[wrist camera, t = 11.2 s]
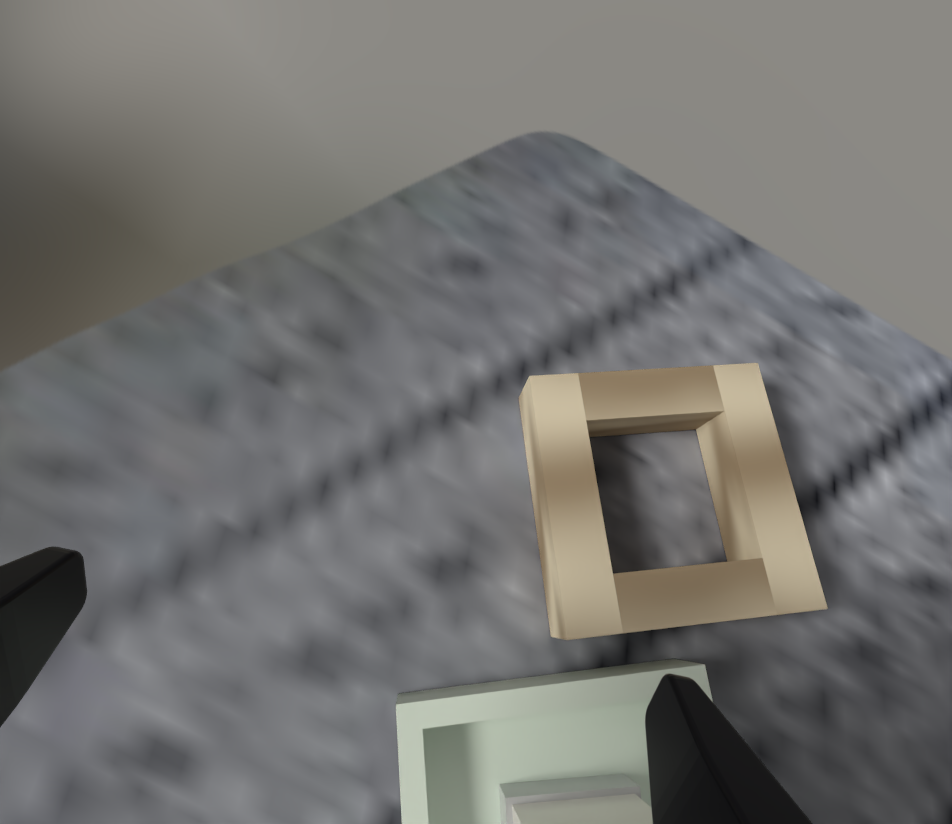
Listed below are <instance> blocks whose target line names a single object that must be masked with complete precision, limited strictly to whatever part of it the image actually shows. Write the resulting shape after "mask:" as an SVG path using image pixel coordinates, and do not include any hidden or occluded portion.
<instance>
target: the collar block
mask: <svg viewBox="0 0 952 824" xmlns="http://www.w3.org/2000/svg"><path fill="white" fill-rule="evenodd" d="M519 404H520V412H521V419H522V426H523V434H524V441H525V449H526V456H527V463H528V471H529V478H530V486H531V493H532V500H533V508H534V515H535V523H536V530H537V537H538V545H539V552H540V559H541V567H542V574H543V582H544V589H545V596H546V604H547V611H548V619H549V626H550V633H551V637H555V638H560V639H565V640H571V639H580V638H588V637H596V636H605V635H613V634H622V633H630V632H638V631H647V630H655V629H663V628H672V627H680V626H689V625H697V624H705V623H714V622H722V621H730V620H739V619H747V618H756V617H764V616H772V615H781V614H789V613H797V612H806V611H814V610H823V609H828V608H827V604H826V601H825V597H824V594H823V590H822V587H821V583H820V580H819V576H818V573H817V569H816V566H815V562H814V559H813V555H812V552H811V548H810V545H809V541H808V537H807V534H806V530H805V527H804V523H803V520H802V516H801V513H800V509H799V506H798V502H797V499H796V495H795V492H794V488H793V485H792V481H791V478H790V474H789V471H788V467H787V464H786V460H785V457H784V453H783V450H782V446H781V443H780V439H779V436H778V432H777V429H776V425H775V422H774V418H773V415H772V411H771V408H770V404H769V401H768V397H767V394H766V390H765V387H764V383H763V380H762V376H761V373H760V369H759V366H758V363H748V364H731V365H714V366H696V367H679V368H661V369H644V370H627V371H609V372H592V373H574V374H557V375H540V376H529V378H528V380H527V382H526V384H525V386H524V388H523V390H522V392H521V394H520V397H519ZM695 429H696V432H697V436H698V440H699V444H700V449H701V453H702V457H703V461H704V465H705V470H706V474H707V478H708V482H709V486H710V491H711V495H712V499H713V503H714V507H715V512H716V516H717V520H718V524H719V528H720V533H721V537H722V541H723V545H724V549H725V554H726V558H727V562H720V563H710V564H701V565H691V566H682V567H672V568H663V569H653V570H644V571H634V572H625V573H615V574H613V572H612V566H611V560H610V554H609V549H608V543H607V537H606V531H605V526H604V520H603V514H602V508H601V503H600V497H599V491H598V485H597V480H596V474H595V468H594V462H593V457H592V451H591V445H590V439H589V437H599V436H612V435H626V434H640V433H654V432H667V431H681V430H695Z"/></svg>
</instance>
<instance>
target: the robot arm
mask: <svg viewBox="0 0 952 824" xmlns="http://www.w3.org/2000/svg"><path fill="white" fill-rule="evenodd" d="M86 596H87V586H86V577H85V568H84V560H83V556H82V555H81V554H80V552H78V551H75V550H70V549H65V548H60V547H48V548H45V549H42V550H39V551H37V552H34V553H32V554H29V555H27V556H24V557H22V558H19V559H17V560H15V561H12V562H10V563H7V564H5V565H2V566H0V727H1V725H2V724H3V723H4V722H5V720H6V719H7V718H8V717H9V715H10V714H11V713H12V711H13V710H14V709H15V707H16V706H17V705H18V703H19V702H20V701H21V699H22V698H23V696H24V695H25V693H26V692H27V691H28V689H29V688H30V686H31V685H32V683H33V682H34V680H35V679H36V677H37V676H38V674H39V673H40V671H41V670H42V668H43V667H44V665H45V664H46V662H47V661H48V659H49V657H50V656H51V654H52V653H53V651H54V650H55V648H56V647H57V645H58V644H59V642H60V641H61V639H62V638H63V636H64V635H65V633H66V632H67V630H68V629H69V627H70V626H71V624H72V623H73V621H74V620H75V618H76V617H77V615H78V614H79V612H80V611H81V609H82V607H83V605H84V603H85V600H86ZM645 730H646V743H647V757H648V770H649V783H650V796H651V809H652V820H653V824H812V822H811V821H810V820H809V819H808V817H807V816H806V815H805V814H804V813H803V811H802V810H801V809H800V808H799V807H798V805H797V804H796V803H795V802H794V800H793V799H792V798H791V797H790V796H789V794H788V793H787V792H786V791H785V790H784V788H783V787H782V786H781V785H780V783H779V782H778V781H777V780H776V779H775V777H774V776H773V775H772V774H771V772H770V771H769V770H768V769H767V768H766V766H765V765H764V764H763V763H762V762H761V760H760V759H759V758H758V757H757V755H756V754H755V753H754V752H753V751H752V749H751V748H750V747H749V746H748V744H747V743H746V742H745V741H744V740H743V738H742V737H741V736H740V735H739V734H738V732H737V731H736V730H735V729H734V727H733V726H732V725H731V724H730V723H729V721H728V720H727V719H726V718H725V717H724V715H723V714H722V713H721V712H720V710H719V709H718V708H717V707H716V706H715V704H714V703H713V702H712V701H711V699H710V698H709V697H708V696H707V695H706V693H705V692H704V691H703V690H702V689H701V687H700V686H699V685H698V684H697V683H696V682H695V681H694V680H693V679H691V678H689V677H685V676H680V675H675V674H671V673H669V674H665V675H664V676H663V677H662V679H661V681H660V683H659V685H658V687H657V689H656V690H655V692H654V694H653V696H652V698H651V700H650V702H649V704H648V707H647V710H646V715H645Z"/></svg>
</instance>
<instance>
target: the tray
mask: <svg viewBox="0 0 952 824" xmlns="http://www.w3.org/2000/svg"><path fill="white" fill-rule="evenodd" d="M669 673H671V674H675V675H680V676H685V677H689V678H691V679H693V680H694V681H695V682H696V683H697V684H698V685H699V686H700V687H701V689H702V690H703V691H704V692H705V693H706V695H707V696H708V697H709V698H710V699H711V701H712V702H713V700H712V696H711V691H710V686H709V681H708V677H707V672H706V667H705V664H699V663H694V662H689V661H684V660H678V659H667V660H659V661H652V662H644V663H636V664H628V665H620V666H612V667H604V668H596V669H588V670H581V671H573V672H565V673H557V674H549V675H541V676H533V677H525V678H518V679H510V680H502V681H494V682H486V683H478V684H470V685H462V686H455V687H447V688H439V689H431V690H423V691H415V692H407V693H399V694H398V697H397V701H396V718H397V737H398V756H399V776H400V795H401V815H402V824H501V817H500V797H499V784H504V783H516V782H528V781H539V780H551V779H563V778H575V777H587V776H599V775H611V774H622V773H624V774H625V775H626V776H628V777H629V778H630V779H631V780H633V781H634V782H635V783H637V784H638V785H639V786H640V792H641V799H642V800H643V801H644V802H645V803H646V804H647V805H649V806H650V807H651V796H650V783H649V770H648V757H647V743H646V730H645V715H646V710H647V707H648V704H649V702H650V700H651V698H652V696H653V694H654V692H655V690H656V689H657V687H658V685H659V683H660V681H661V679H662V677H663V676H664V675H665V674H669Z"/></svg>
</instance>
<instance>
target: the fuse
mask: <svg viewBox="0 0 952 824" xmlns="http://www.w3.org/2000/svg"><path fill="white" fill-rule="evenodd" d="M499 797H500V817H501V824H653V820H652V809H651V807H650V806H649V805H647V804H646V803H645V802H644V801H643V800H642V799H641V792H640V786H639V785H638V784H637V783H635V782H634V781H633V780H631V779H630V778H629V777H628V776H626V775H625V774H624V773H622V774H611V775H599V776H587V777H575V778H563V779H551V780H539V781H528V782H516V783H504V784H499Z"/></svg>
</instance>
